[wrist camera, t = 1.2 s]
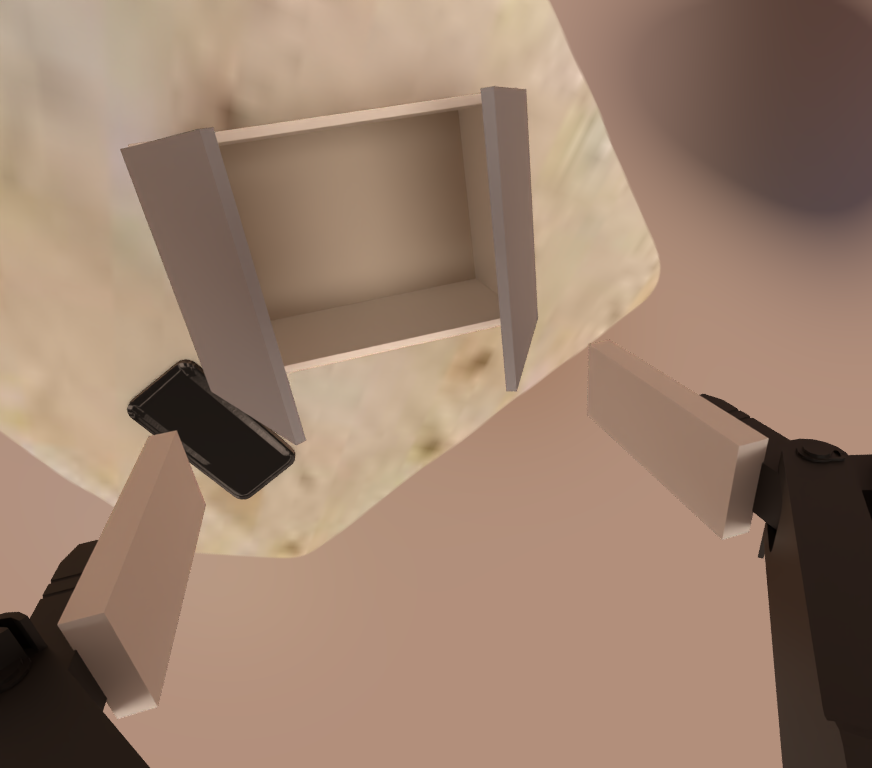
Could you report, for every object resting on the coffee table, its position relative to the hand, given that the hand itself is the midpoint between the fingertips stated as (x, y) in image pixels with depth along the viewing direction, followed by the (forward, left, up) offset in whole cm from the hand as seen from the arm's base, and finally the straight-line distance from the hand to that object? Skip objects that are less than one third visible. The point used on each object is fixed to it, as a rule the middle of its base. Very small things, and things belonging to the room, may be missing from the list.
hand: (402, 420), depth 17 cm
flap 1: (-2, -7, -16) cm, 18 cm away
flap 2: (-2, +10, -16) cm, 19 cm away
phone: (+16, -15, -35) cm, 41 cm away
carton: (-2, +2, -34) cm, 34 cm away
